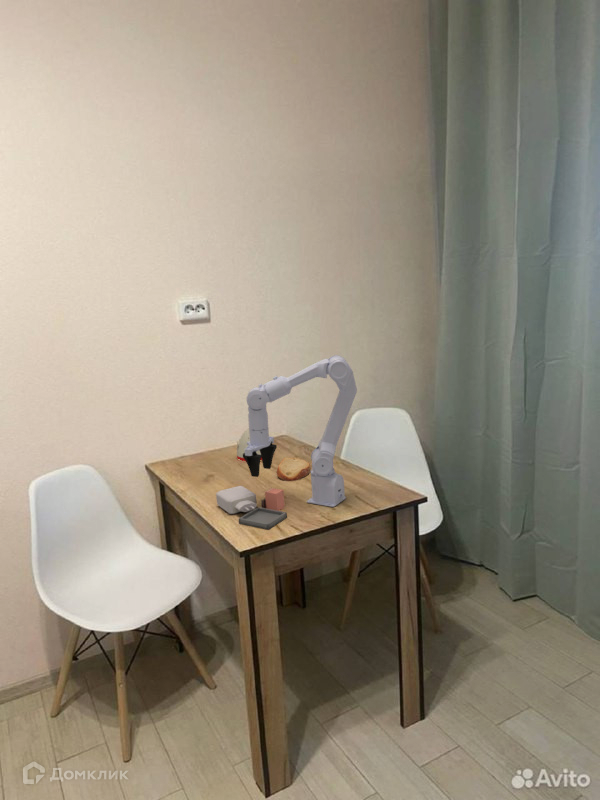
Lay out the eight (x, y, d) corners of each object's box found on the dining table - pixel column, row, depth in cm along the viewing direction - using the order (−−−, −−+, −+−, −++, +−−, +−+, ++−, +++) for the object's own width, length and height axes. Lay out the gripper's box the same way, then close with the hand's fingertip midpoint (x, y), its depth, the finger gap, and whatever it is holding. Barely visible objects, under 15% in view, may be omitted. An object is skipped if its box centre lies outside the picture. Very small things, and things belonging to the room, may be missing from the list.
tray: (287, 517, 166) (286, 512, 166) (268, 529, 159) (268, 524, 158) (258, 511, 172) (257, 507, 171) (239, 523, 164) (238, 518, 164)
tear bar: (274, 503, 177) (273, 494, 177) (262, 510, 172) (262, 500, 172) (271, 502, 178) (270, 493, 177) (259, 509, 173) (258, 500, 173)
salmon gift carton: (284, 507, 174) (283, 489, 173) (277, 511, 171) (276, 493, 170) (273, 505, 176) (271, 487, 175) (266, 509, 173) (264, 491, 172)
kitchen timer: (234, 463, 220) (231, 424, 217) (239, 452, 234) (236, 416, 231) (271, 461, 219) (268, 422, 216) (274, 450, 233) (271, 414, 230)
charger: (237, 521, 165) (217, 506, 178) (266, 513, 170) (244, 499, 183) (236, 505, 164) (215, 491, 177) (265, 497, 169) (243, 484, 182)
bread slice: (291, 460, 219) (291, 451, 219) (327, 469, 207) (326, 459, 206) (255, 474, 207) (254, 464, 206) (290, 484, 194) (290, 473, 194)
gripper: (258, 421, 180) (261, 463, 183) (234, 433, 167) (237, 478, 170) (278, 423, 177) (281, 465, 180) (255, 435, 164) (258, 481, 167)
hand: (261, 472), depth 175 cm, fingers open, 7 cm apart
